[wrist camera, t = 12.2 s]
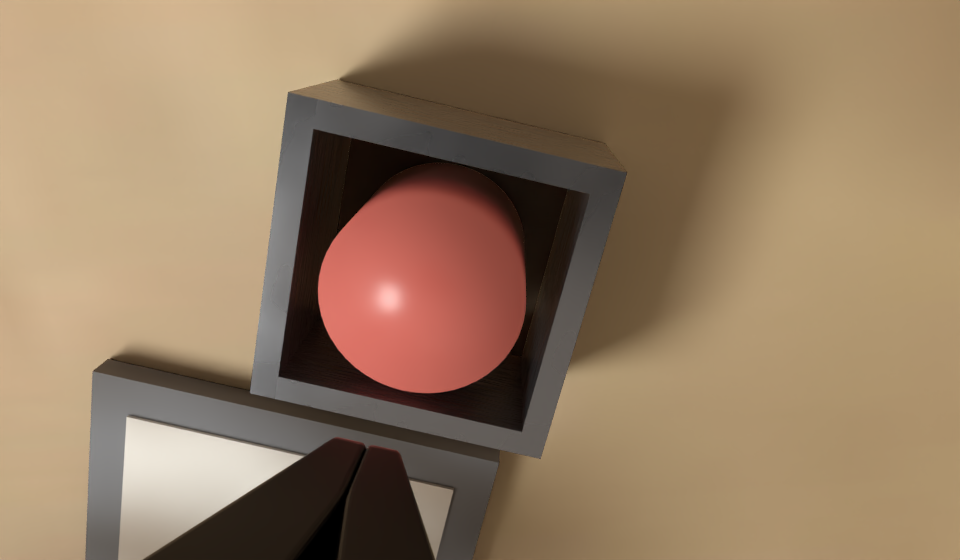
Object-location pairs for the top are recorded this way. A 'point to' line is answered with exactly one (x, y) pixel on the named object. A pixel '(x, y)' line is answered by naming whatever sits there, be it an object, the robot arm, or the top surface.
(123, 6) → the top surface
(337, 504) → the robot arm
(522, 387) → the button housing
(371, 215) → the button
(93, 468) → the drawing board
